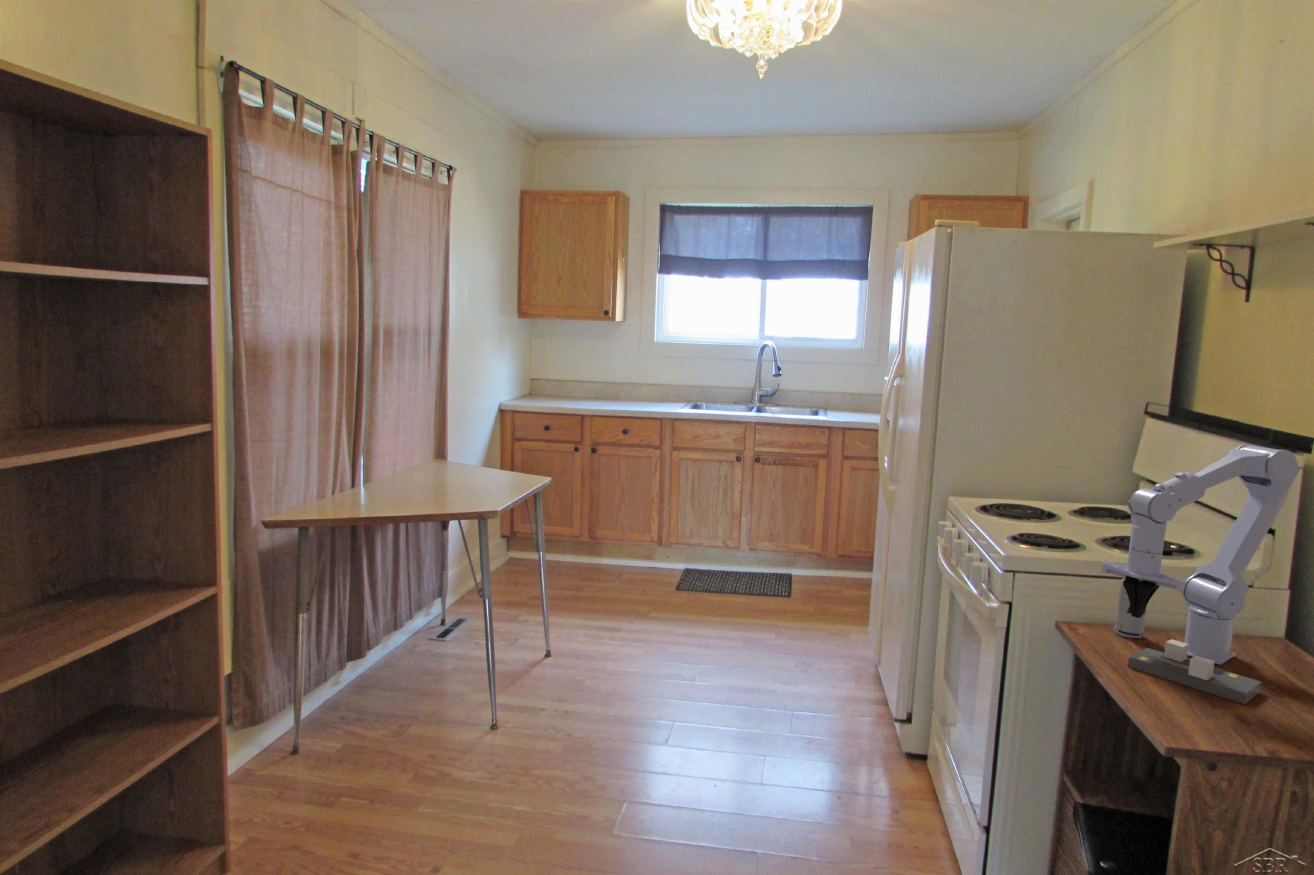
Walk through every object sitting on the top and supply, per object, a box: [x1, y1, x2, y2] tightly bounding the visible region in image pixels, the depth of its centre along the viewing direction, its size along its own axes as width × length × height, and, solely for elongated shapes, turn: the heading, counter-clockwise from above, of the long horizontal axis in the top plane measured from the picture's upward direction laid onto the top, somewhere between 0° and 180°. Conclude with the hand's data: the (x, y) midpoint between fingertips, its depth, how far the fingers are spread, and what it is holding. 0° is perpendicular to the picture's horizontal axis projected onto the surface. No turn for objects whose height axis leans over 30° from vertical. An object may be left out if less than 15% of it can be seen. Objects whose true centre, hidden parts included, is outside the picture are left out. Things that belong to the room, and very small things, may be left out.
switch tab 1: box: [1163, 638, 1189, 662], centre depth 156 cm, size 3×3×3 cm
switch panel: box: [1127, 647, 1262, 705], centre depth 151 cm, size 10×19×2 cm, turn 39°
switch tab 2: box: [1188, 656, 1215, 680], centre depth 147 cm, size 3×3×3 cm
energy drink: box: [1113, 577, 1148, 639], centre depth 174 cm, size 5×5×12 cm
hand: (1136, 616), depth 161 cm, fingers closed
